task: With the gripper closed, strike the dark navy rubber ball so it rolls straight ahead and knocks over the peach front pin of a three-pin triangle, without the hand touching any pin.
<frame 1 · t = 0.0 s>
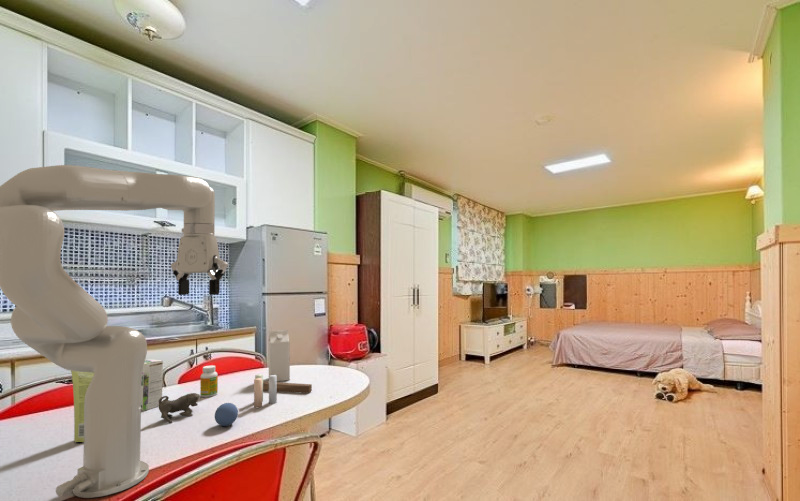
hand: (198, 294, 105), 37 cm above the table, tool pointing down, fingers open, 9 cm apart
back pin left: (259, 401, 128), on the table
brown bar: (284, 390, 139), on the table
milk carton: (279, 379, 154), on the table
back pin right: (272, 402, 127), on the table
tube: (87, 439, 101), on the table
dog figurine: (180, 417, 116), on the table
supplement bottle: (209, 395, 136), on the table
ball: (226, 414, 109), on the table
front pin: (258, 406, 123), on the table
syrup box: (148, 407, 125), on the table
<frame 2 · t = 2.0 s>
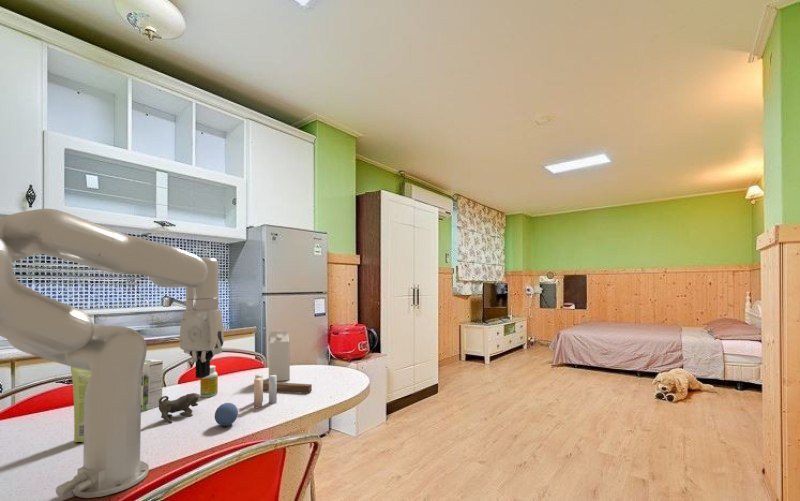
hand: (202, 376, 100), 16 cm above the table, tool pointing down, fingers closed
nothing on the table moved.
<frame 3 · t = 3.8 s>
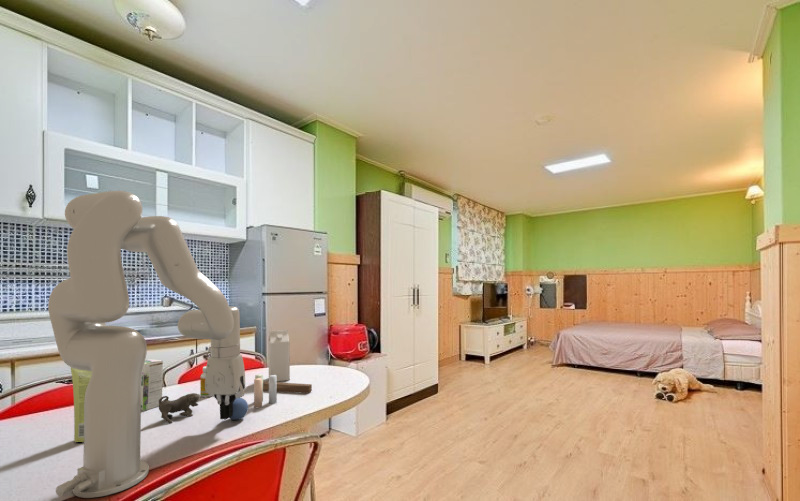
hand: (226, 417, 109), 2 cm above the table, tool pointing down, fingers closed
ball: (237, 408, 113), on the table
everything else where it was.
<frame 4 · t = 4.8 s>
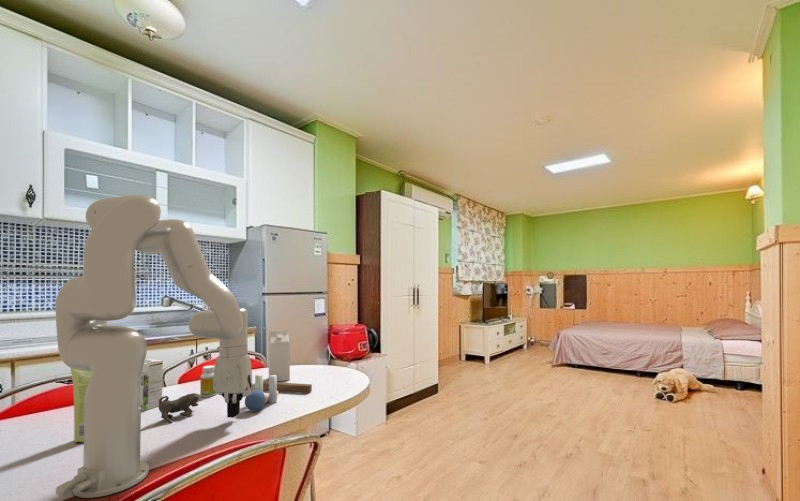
hand: (233, 415, 112), 2 cm above the table, tool pointing down, fingers closed
ball: (255, 400, 120), on the table
front pin: (261, 401, 124), point 1 cm above the table, tilted 90°
everything else where it was.
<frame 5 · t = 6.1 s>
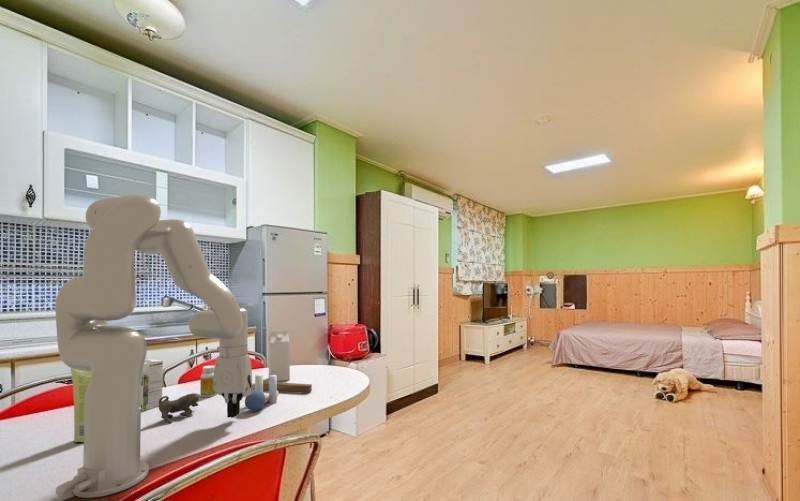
hand: (233, 415, 112), 2 cm above the table, tool pointing down, fingers closed
nothing on the table moved.
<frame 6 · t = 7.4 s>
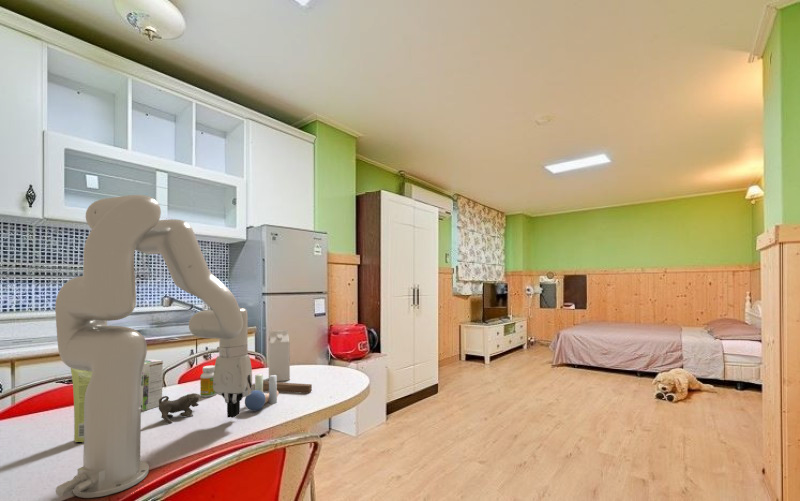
hand: (233, 415, 112), 2 cm above the table, tool pointing down, fingers closed
nothing on the table moved.
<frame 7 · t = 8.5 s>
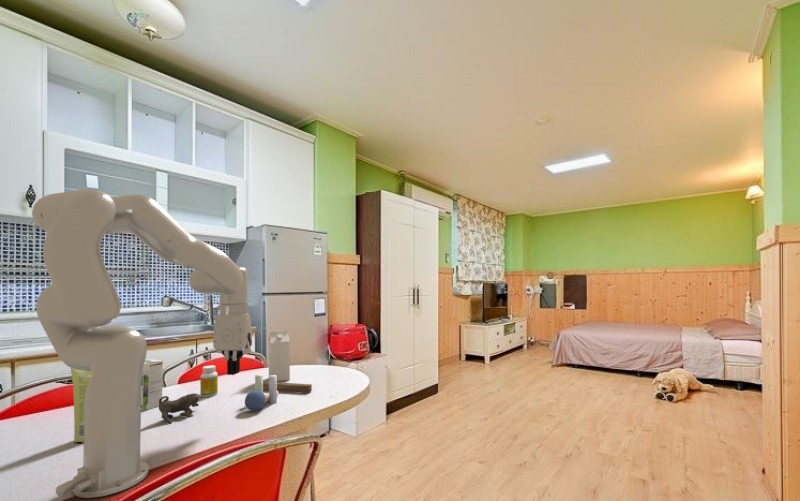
hand: (233, 373, 112), 13 cm above the table, tool pointing down, fingers closed
nothing on the table moved.
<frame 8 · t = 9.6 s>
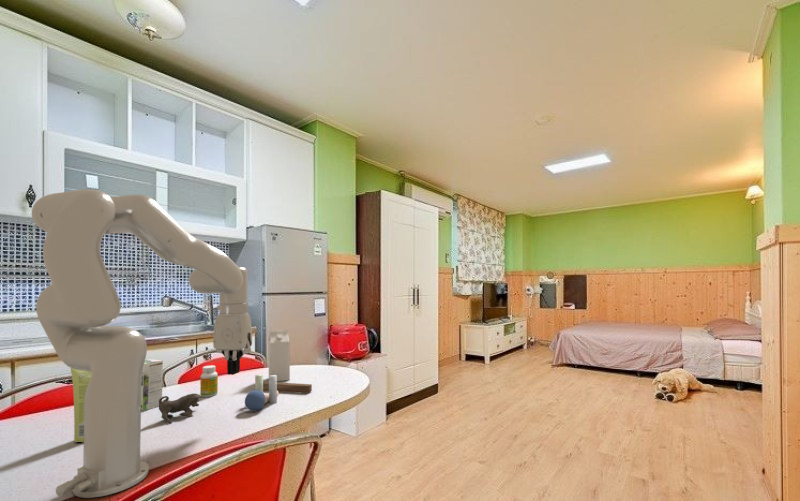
hand: (233, 373, 112), 14 cm above the table, tool pointing down, fingers closed
nothing on the table moved.
at the end: front pin tilted 90°; front pin never touched the robot; ball moved 11.9 cm from its start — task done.
